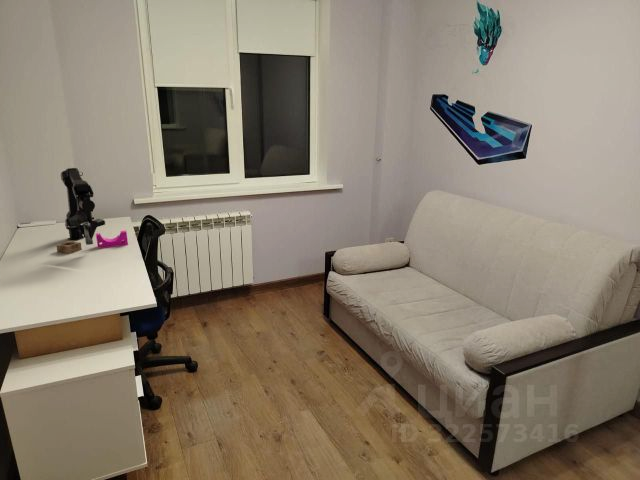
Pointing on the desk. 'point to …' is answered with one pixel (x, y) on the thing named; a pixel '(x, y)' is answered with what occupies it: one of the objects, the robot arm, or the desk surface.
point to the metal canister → (87, 235)
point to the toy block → (112, 240)
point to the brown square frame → (69, 247)
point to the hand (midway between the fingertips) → (88, 238)
